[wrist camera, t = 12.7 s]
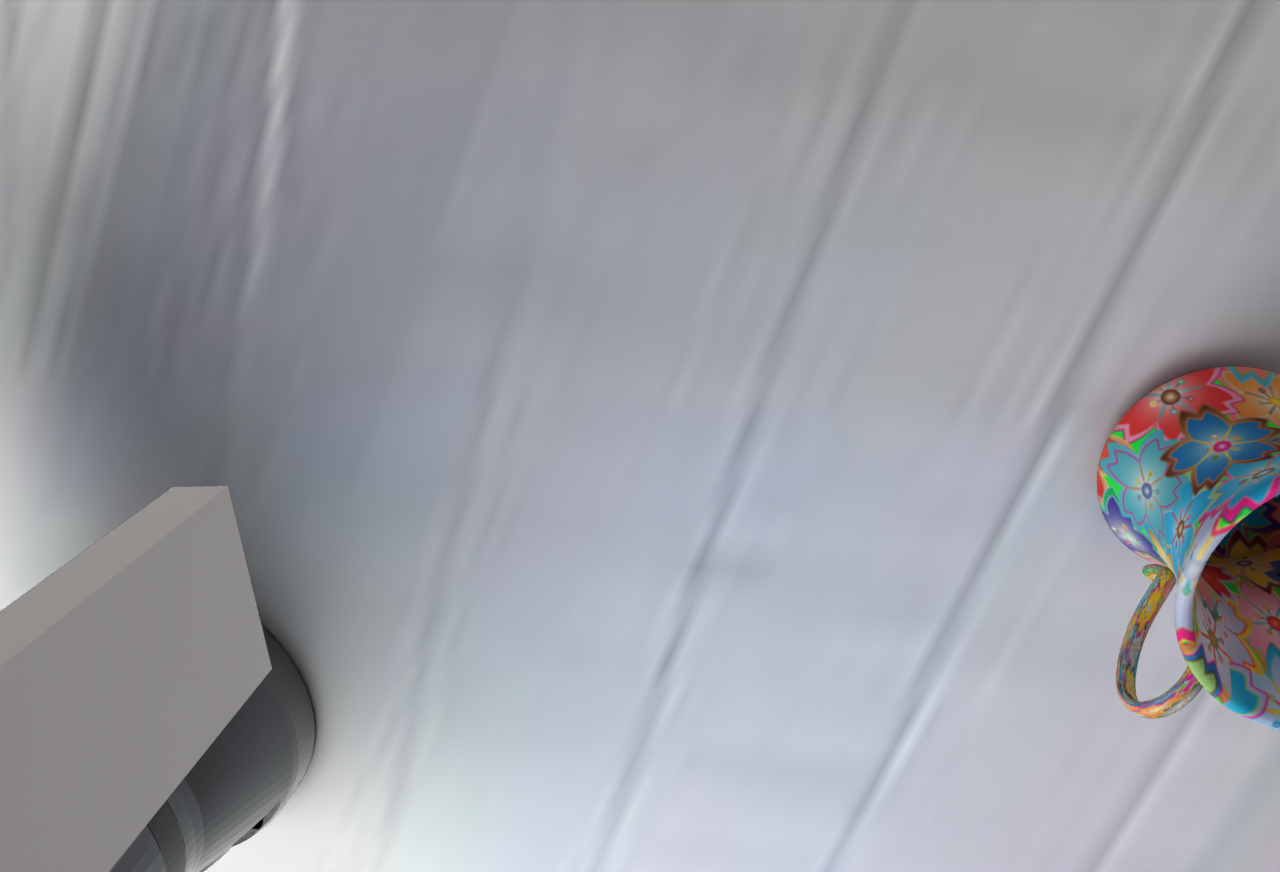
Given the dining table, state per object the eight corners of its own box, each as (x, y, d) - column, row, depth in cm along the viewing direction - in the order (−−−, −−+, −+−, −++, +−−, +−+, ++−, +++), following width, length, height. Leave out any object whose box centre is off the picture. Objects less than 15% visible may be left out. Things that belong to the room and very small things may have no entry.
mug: (1213, 299, 36) (1374, 391, 26) (1394, 447, 37) (1616, 590, 27) (980, 524, 40) (1043, 676, 30) (1147, 651, 41) (1260, 838, 31)
